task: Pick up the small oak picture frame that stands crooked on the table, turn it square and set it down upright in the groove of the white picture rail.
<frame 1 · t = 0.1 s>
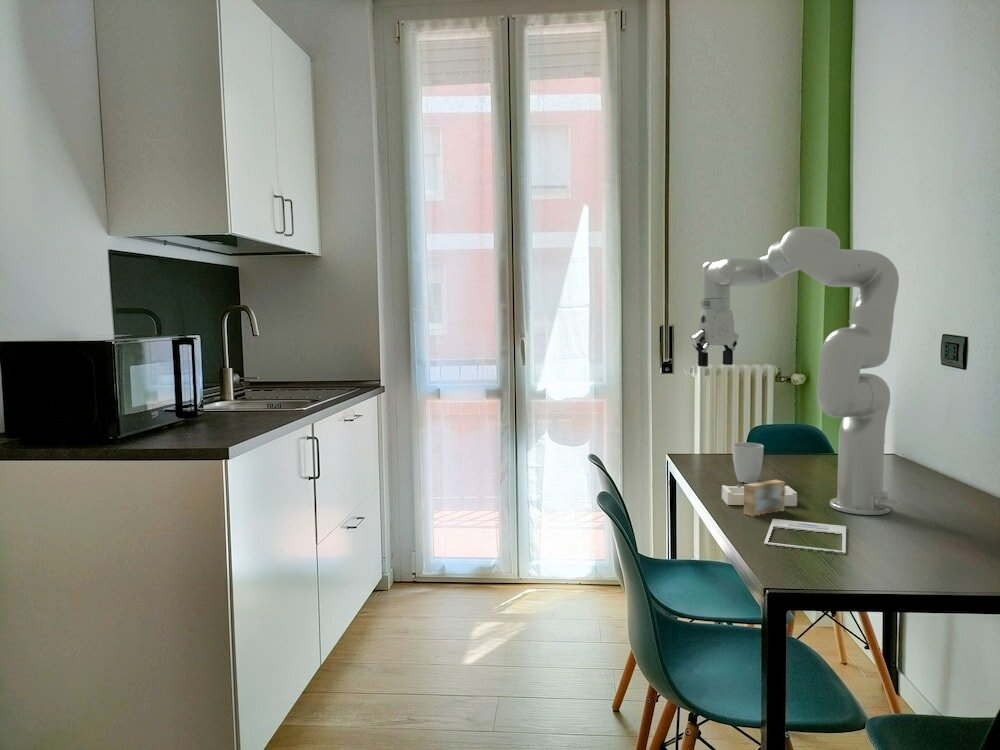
hand: (715, 365, 202), 31 cm above the table, tool pointing down, fingers open, 9 cm apart
photo frame: (806, 539, 146), on the table
cup: (747, 481, 194), on the table
picture rail: (758, 501, 173), on the table
oak frame: (764, 512, 164), on the table
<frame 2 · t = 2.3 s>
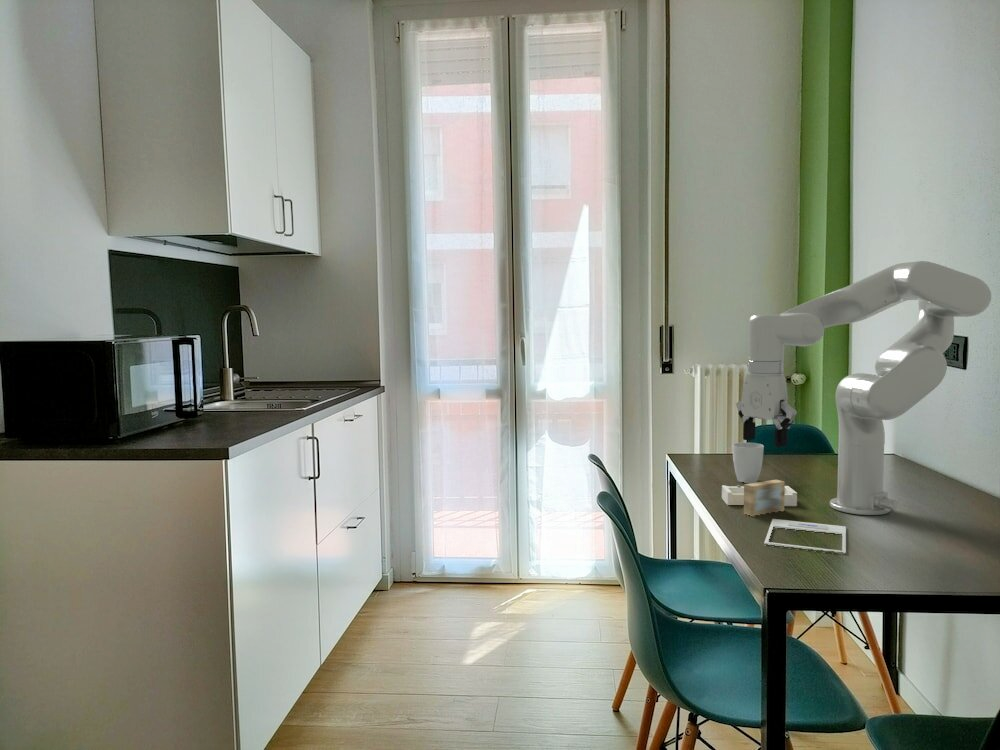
hand: (764, 442, 163), 16 cm above the table, tool pointing down, fingers open, 9 cm apart
nothing on the table moved.
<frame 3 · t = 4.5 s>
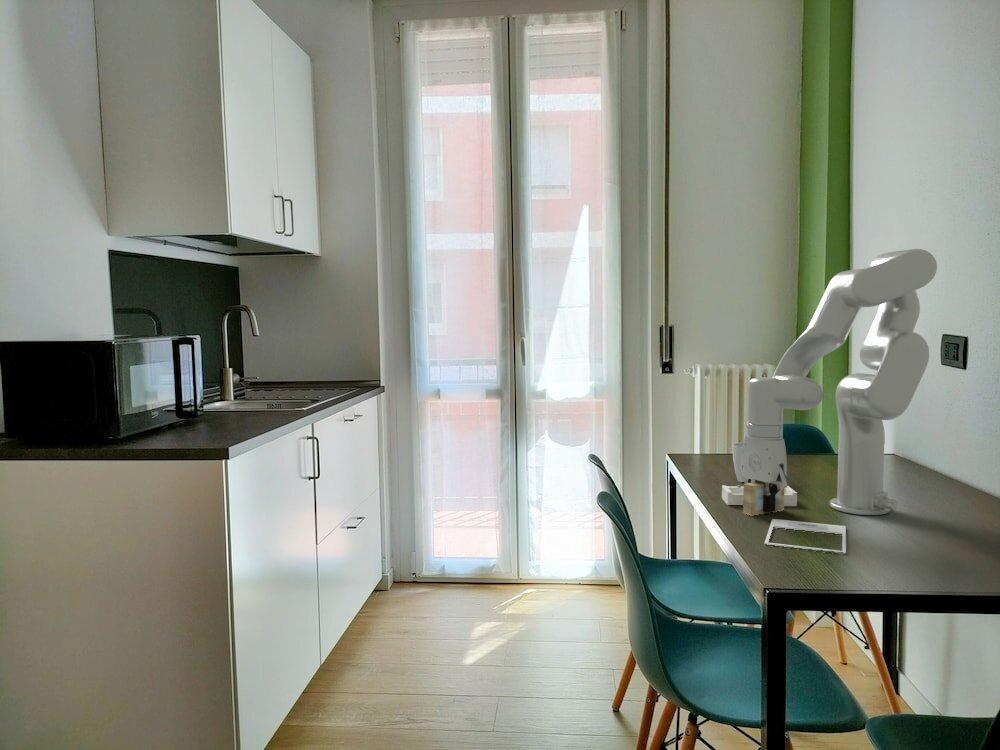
hand: (763, 509, 164), 1 cm above the table, tool pointing down, fingers closed on oak frame, 2 cm apart
oak frame: (763, 512, 164), on the table, touching gripper
everything else where it was.
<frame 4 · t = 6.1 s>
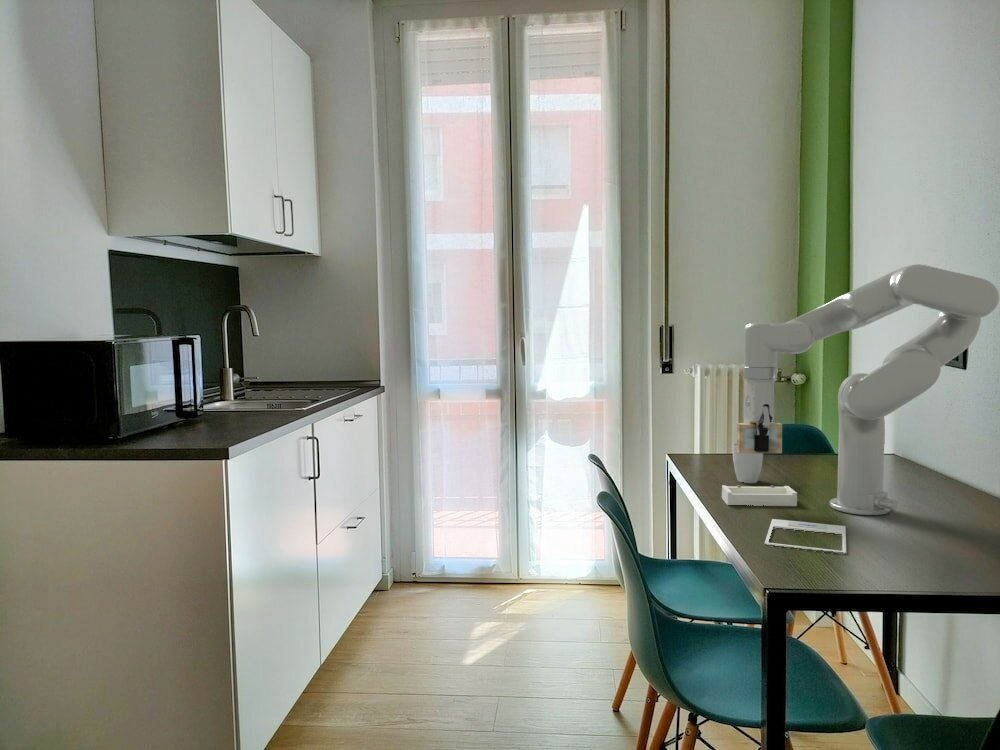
hand: (759, 449, 171), 13 cm above the table, tool pointing down, fingers closed on oak frame, 2 cm apart
oak frame: (759, 452, 171), point 12 cm above the table, touching gripper
everything else where it was.
when the fingers open (4 cm above the table, at t = 8.1 s): oak frame drops 2 cm, resting on picture rail.
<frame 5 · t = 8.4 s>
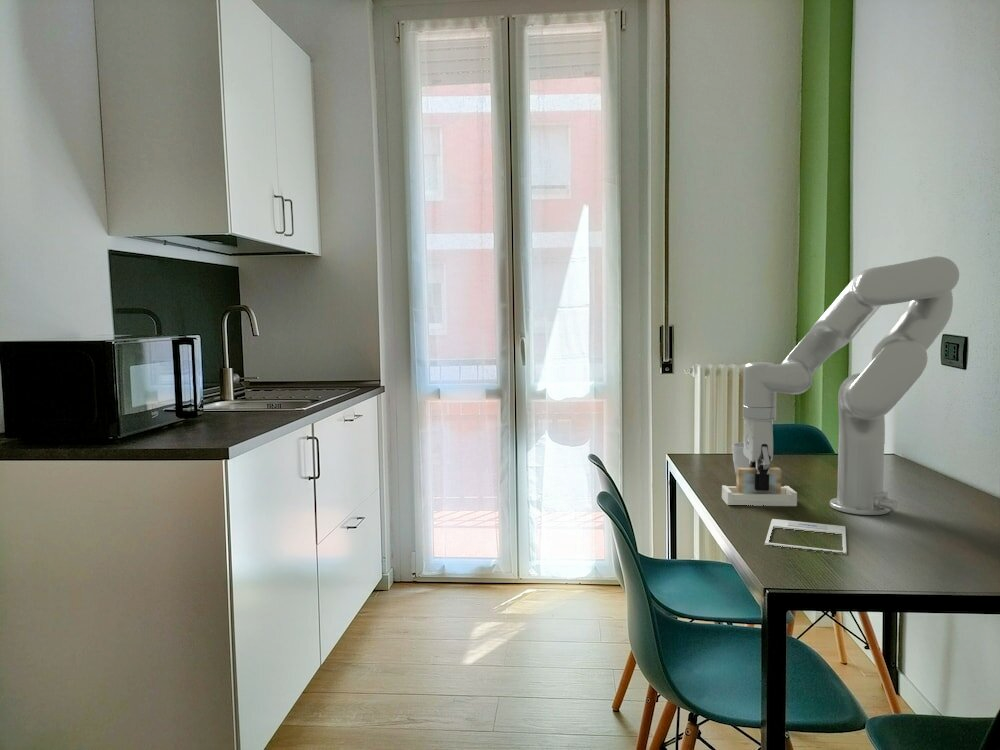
hand: (758, 486, 173), 4 cm above the table, tool pointing down, fingers open, 5 cm apart
oak frame: (758, 496, 173), point 1 cm above the table, touching picture rail
everything else where it was.
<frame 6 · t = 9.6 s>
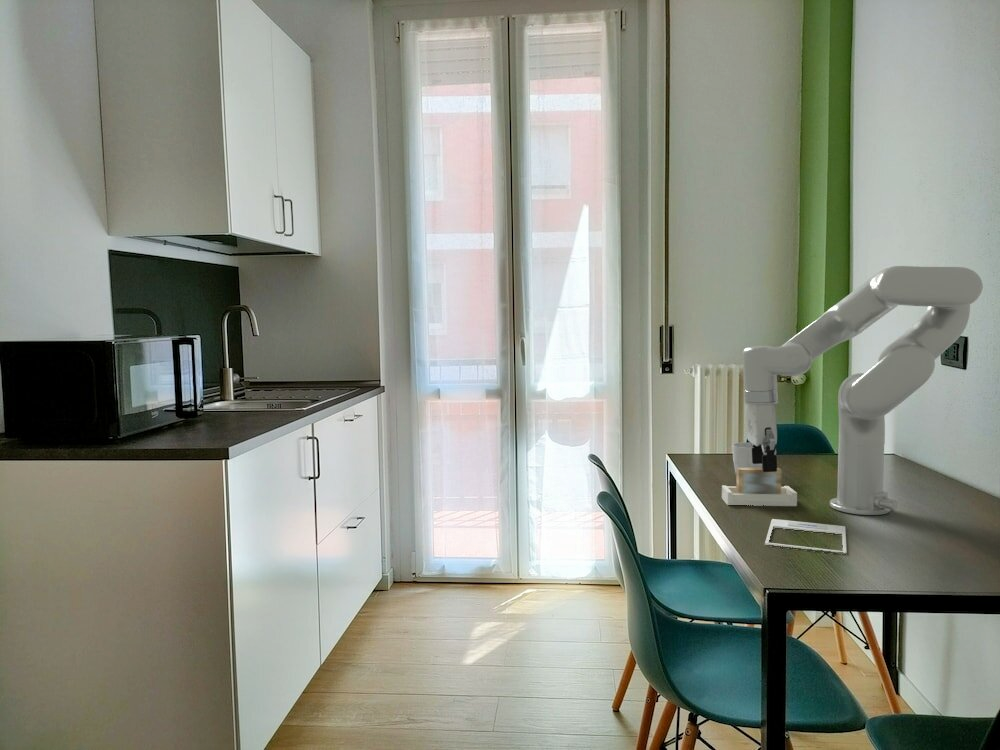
hand: (764, 467, 172), 9 cm above the table, tool pointing down, fingers open, 9 cm apart
nothing on the table moved.
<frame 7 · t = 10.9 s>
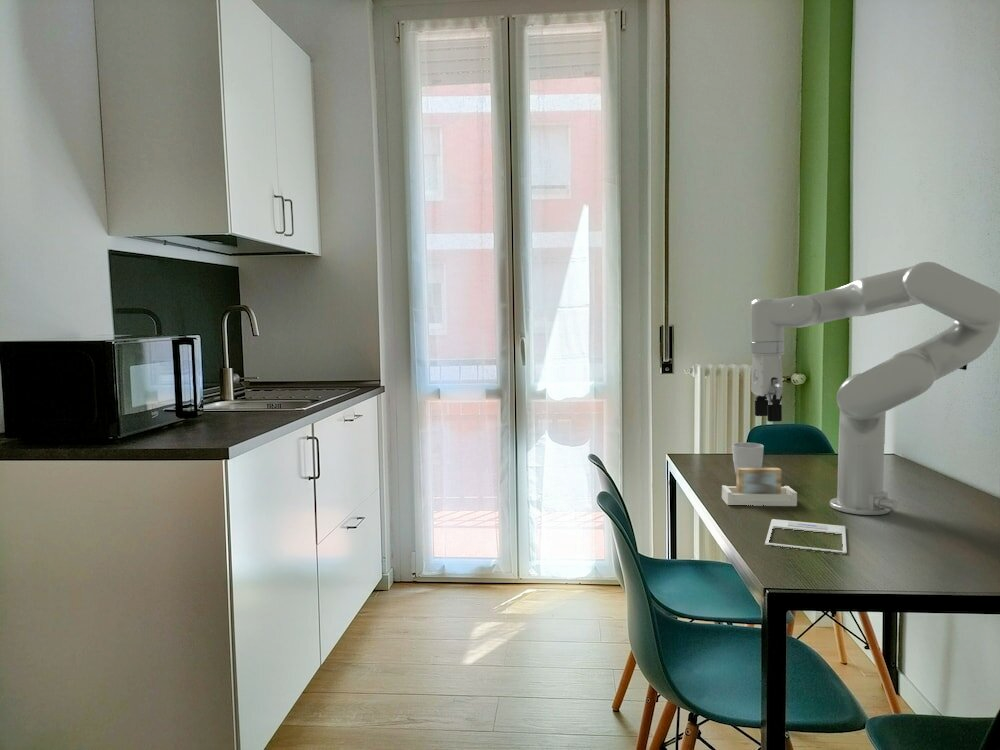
hand: (767, 418, 174), 20 cm above the table, tool pointing down, fingers open, 9 cm apart
nothing on the table moved.
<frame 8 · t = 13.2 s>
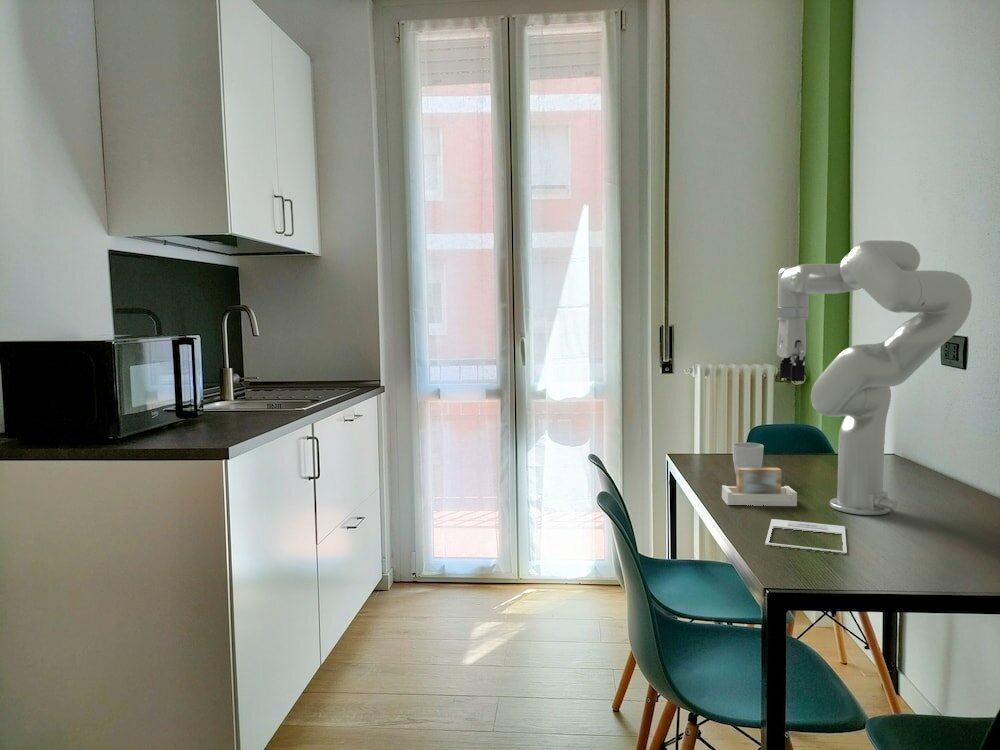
hand: (791, 379, 187), 28 cm above the table, tool pointing down, fingers open, 9 cm apart
nothing on the table moved.
at the end: oak frame inside the target area on the picture rail (0.1 cm from its centre), point 1.2 cm above the picture rail's base; oak frame tilted 0°; the gripper is holding nothing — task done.
